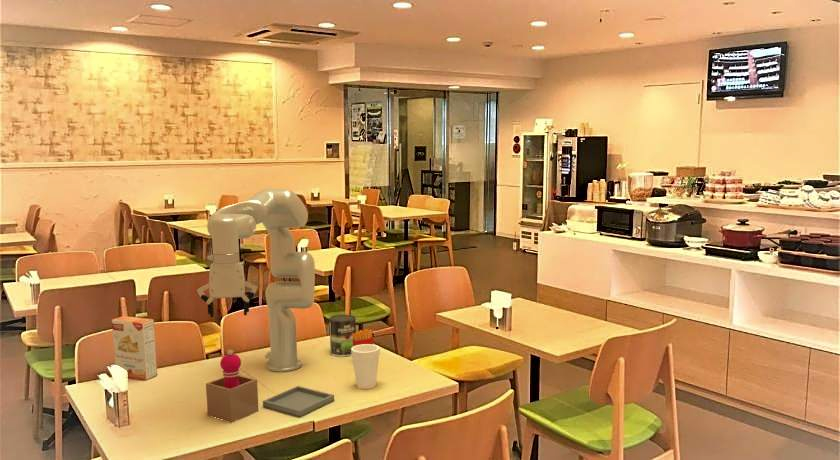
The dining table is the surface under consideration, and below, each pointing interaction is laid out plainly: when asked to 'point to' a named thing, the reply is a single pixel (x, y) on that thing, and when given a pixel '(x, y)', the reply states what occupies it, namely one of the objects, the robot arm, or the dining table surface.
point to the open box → (232, 399)
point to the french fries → (362, 337)
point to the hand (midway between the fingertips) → (228, 315)
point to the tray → (298, 401)
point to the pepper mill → (231, 369)
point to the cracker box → (135, 346)
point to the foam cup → (365, 364)
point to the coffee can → (342, 334)
